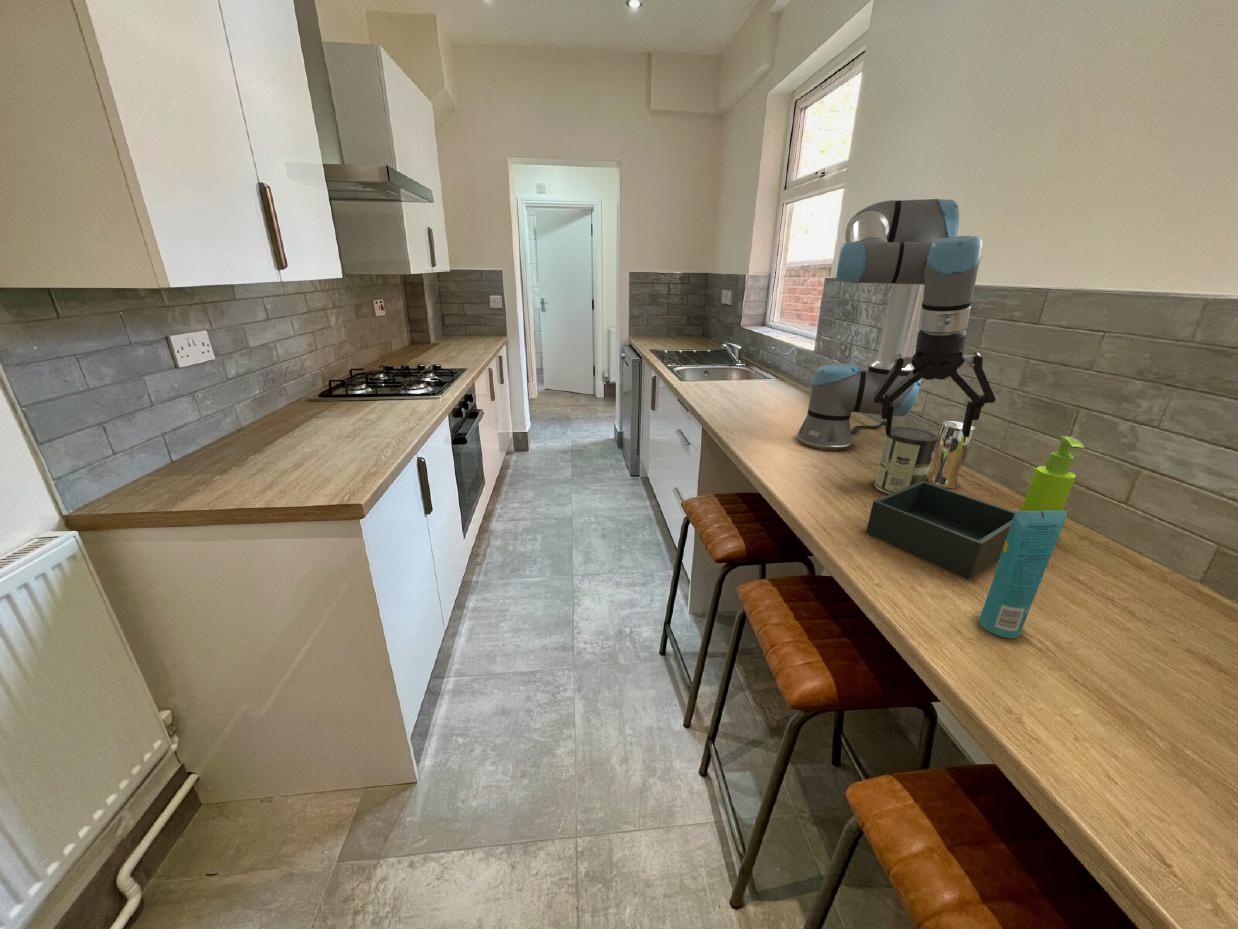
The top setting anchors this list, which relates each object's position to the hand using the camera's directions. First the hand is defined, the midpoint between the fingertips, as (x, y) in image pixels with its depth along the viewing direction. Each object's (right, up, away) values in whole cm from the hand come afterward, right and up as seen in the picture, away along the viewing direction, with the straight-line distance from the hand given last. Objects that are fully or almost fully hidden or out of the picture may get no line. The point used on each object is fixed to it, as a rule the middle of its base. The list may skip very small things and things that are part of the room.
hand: (925, 433), depth 100 cm
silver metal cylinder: (+17, -11, +21) cm, 29 cm away
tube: (-7, -30, -28) cm, 42 cm away
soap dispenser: (+21, -20, -1) cm, 29 cm away
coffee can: (+4, -12, +17) cm, 21 cm away
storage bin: (-1, -21, -5) cm, 22 cm away
